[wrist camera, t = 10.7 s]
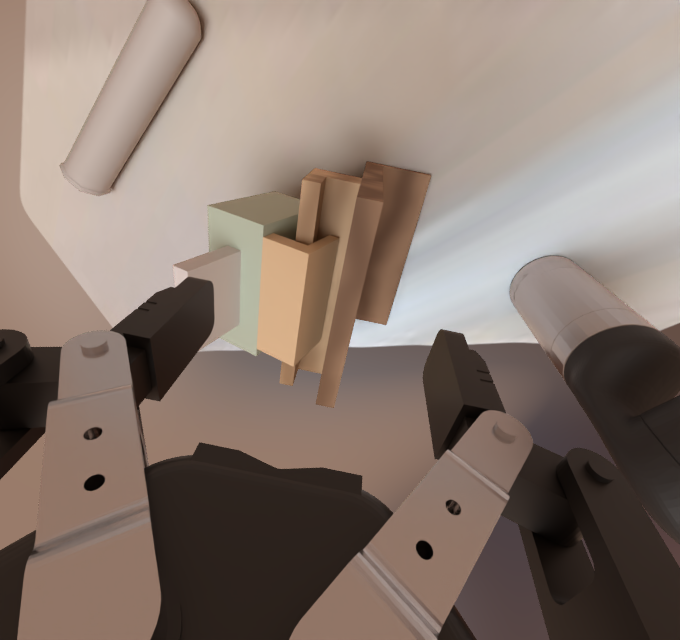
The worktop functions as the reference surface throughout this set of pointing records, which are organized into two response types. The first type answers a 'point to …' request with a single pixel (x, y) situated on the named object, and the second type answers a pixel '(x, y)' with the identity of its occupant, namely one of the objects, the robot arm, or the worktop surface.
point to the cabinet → (264, 277)
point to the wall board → (356, 255)
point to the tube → (132, 93)
